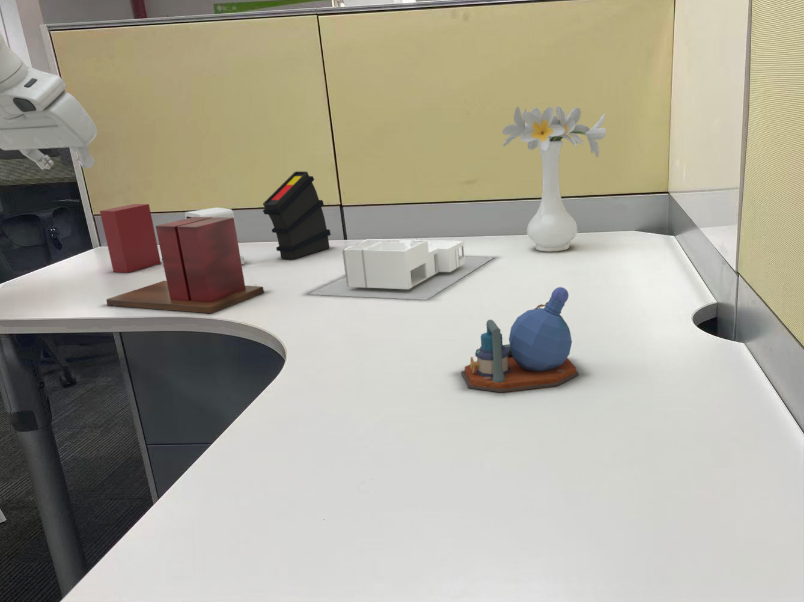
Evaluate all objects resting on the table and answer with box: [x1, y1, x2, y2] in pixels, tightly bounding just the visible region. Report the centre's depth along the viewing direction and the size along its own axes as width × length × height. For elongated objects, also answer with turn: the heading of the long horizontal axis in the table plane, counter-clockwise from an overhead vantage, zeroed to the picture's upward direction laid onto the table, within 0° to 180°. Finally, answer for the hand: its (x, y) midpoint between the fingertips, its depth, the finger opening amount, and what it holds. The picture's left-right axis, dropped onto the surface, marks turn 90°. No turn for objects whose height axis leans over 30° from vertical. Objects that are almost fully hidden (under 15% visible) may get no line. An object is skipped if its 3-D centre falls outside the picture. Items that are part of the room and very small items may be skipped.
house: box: [309, 238, 494, 301], centre depth 129 cm, size 22×18×6 cm
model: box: [460, 286, 579, 393], centre depth 85 cm, size 12×9×9 cm
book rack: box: [106, 217, 265, 314], centre depth 122 cm, size 12×20×12 cm, turn 69°
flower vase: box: [501, 105, 607, 253], centre depth 144 cm, size 13×18×25 cm
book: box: [99, 203, 162, 274], centre depth 147 cm, size 8×4×11 cm, turn 159°
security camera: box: [184, 207, 246, 265], centre depth 145 cm, size 6×7×10 cm
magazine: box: [262, 170, 332, 260], centre depth 151 cm, size 4×13×15 cm, turn 153°
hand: (69, 166), depth 133 cm, fingers open, 8 cm apart
